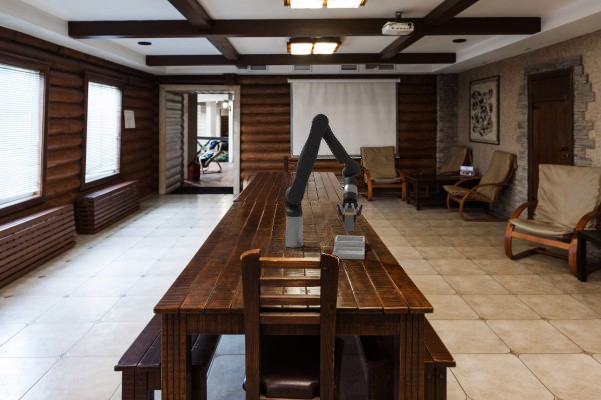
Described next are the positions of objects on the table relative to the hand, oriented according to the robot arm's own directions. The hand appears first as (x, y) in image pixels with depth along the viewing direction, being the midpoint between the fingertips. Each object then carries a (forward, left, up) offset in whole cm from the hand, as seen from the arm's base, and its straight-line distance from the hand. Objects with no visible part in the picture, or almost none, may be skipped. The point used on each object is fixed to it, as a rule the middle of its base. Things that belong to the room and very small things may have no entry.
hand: (349, 221), depth 251 cm
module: (0, +2, -5) cm, 5 cm away
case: (0, +17, -18) cm, 25 cm away
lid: (0, +2, -18) cm, 18 cm away
